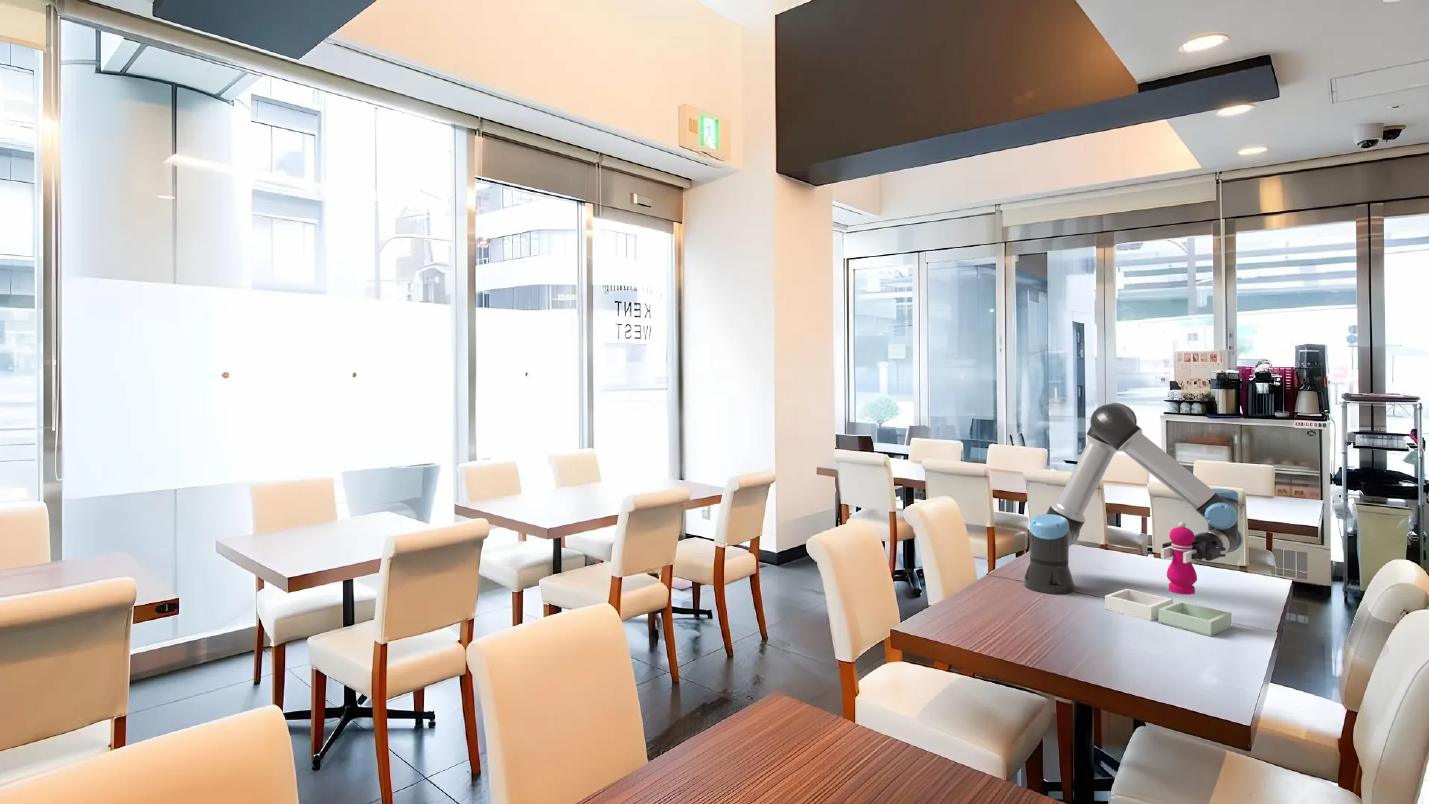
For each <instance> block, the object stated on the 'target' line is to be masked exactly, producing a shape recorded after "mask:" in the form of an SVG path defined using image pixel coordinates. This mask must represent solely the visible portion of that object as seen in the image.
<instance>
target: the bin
mask: <svg viewBox="0 0 1429 804" xmlns="http://www.w3.org/2000/svg"><path fill="white" fill-rule="evenodd" d="M1171 604H1173V599H1172V598H1168V597H1165V596H1160V595H1156V594H1151V593H1148V592H1142V591H1139V590H1135V589H1132V588H1124V589H1122V590H1118V591H1115V592H1113V593H1109V594H1106V595H1104V609H1105V610H1107V609H1108V610H1107V611H1111V610H1112V612H1116V613H1118V612H1119V614H1122V613H1123V615H1127V616H1130V615H1131V616H1130V617H1134V618H1139V619H1141V618H1142V620H1146V621H1149V620H1150V621H1149V622H1152V621H1154V620H1157V619H1158V616H1159V609H1160V608H1163V607H1165V606H1168V605H1171ZM1151 620H1152V621H1151Z"/></svg>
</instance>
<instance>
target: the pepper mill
mask: <svg viewBox="0 0 1429 804" xmlns="http://www.w3.org/2000/svg"><path fill="white" fill-rule="evenodd" d="M1169 540H1171V541H1172V542H1173V543H1172V544H1171V545H1172V547H1171V548H1172V549H1173V556H1172V560H1171V561H1170V564H1169V566H1168V568H1167V571H1166V578H1167V579H1168V581H1169V582H1170V583H1168V590H1169V592H1172V593H1174V594H1179V595H1186V596H1187V595H1188V596H1189V595H1194V594H1195V593H1196V587H1195V586H1194V584H1195V583H1196V582H1197V581H1198V575H1197V571H1196V569H1195V567H1194V566H1193V563H1192V561H1191V562H1188V563H1183V553H1185V552H1188V551H1191V550H1193V549H1192V547H1193V546H1192V545H1191V544H1192V543H1193V542H1194V540H1195V534H1194V532H1193V530H1191V529H1190V528H1188V527H1187V525H1186V523H1185V521H1180V522H1178V526H1177V527H1174V528H1172V529H1171V530H1170V532H1169ZM1171 541H1170V542H1171Z"/></svg>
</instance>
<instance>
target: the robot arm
mask: <svg viewBox="0 0 1429 804" xmlns="http://www.w3.org/2000/svg"><path fill="white" fill-rule="evenodd" d="M1137 420H1138V418H1137V416H1136V414H1135V412H1134V410H1133V409H1131V407H1129V406H1128V405H1125V404H1123V403H1120V402H1119V403H1118V402H1111V403H1107V404H1103V405H1101V406H1099V407H1098V408H1096V409H1095V410H1094V411H1093V412H1092V414H1091V416H1090V421H1089V422H1090V423H1089V424H1090V426H1089V428H1088V430H1087V433H1086V437H1087V440H1088V442H1087V444H1086V445H1085V447H1084V449H1083V451H1082V453H1081V455H1080V457H1079V459H1078V462H1077V463H1076V466H1075V467H1074V469H1073V471H1072V473H1071V475H1070V476H1069V478H1068V481H1067V483H1066V485H1065V487H1064V489H1063V491H1062V492H1061V494H1060V497H1059V499H1058V500H1057V502H1053V503H1051V504H1050V506H1049V508H1048V510H1047V511H1046V513H1045V514H1037V515H1035V516H1033V517H1032V518H1031V519H1030V524H1029V564H1028V566H1027V570H1026V572H1025V575H1024V577H1023V584H1024V585H1023V586H1024V587H1025V588H1027V589H1029V590H1031V591H1032V590H1033V591H1035V592H1036V591H1037V592H1040V593H1044V594H1045V593H1047V594H1055V595H1056V594H1059V595H1060V594H1061V595H1064V594H1071V593H1072V592H1074V591H1075V582H1074V580H1073V575H1072V572H1071V570H1070V567H1069V557H1070V556H1069V554H1070V553H1069V551H1070V549H1069V548H1070V546H1071V545H1073V544H1075V543H1076V542H1077V540H1078V539H1079V537H1080V533H1081V529H1082V527H1083V526H1084V524H1085V522H1086V518H1085V516H1084V513H1085V511H1086V509H1087V507H1088V505H1089V503H1090V501H1091V500H1092V498H1093V496H1094V493H1095V492H1096V490H1097V487H1098V486H1099V484H1100V481H1101V480H1102V478H1103V477H1104V474H1105V472H1106V470H1107V469H1108V467H1109V464H1110V463H1111V461H1112V459H1113V458H1114V455H1115V453H1117V452H1122V453H1125V454H1126V455H1127V456H1129V458H1131V459H1132V460H1133V461H1134V462H1136V463H1137V464H1138V465H1140V466H1141V468H1143V469H1145V470H1146V471H1147V472H1148V473H1149V474H1151V475H1152V476H1153V477H1154V478H1156V479H1157V480H1158V481H1159V482H1160V483H1161V484H1163V485H1164V486H1165V487H1167V488H1168V489H1169V490H1170V491H1172V492H1173V493H1174V494H1175V495H1177V497H1179V498H1180V499H1181V500H1183V501H1184V502H1185V503H1186V504H1188V505H1189V506H1190V507H1191V508H1192V509H1194V511H1196V512H1197V513H1198V514H1200V516H1202V517H1203V518H1204V520H1205V521H1206V523H1207V531H1204V532H1201V533H1200V532H1199V533H1197V534H1194V536H1195V540H1194V542H1193V543H1192V544H1191V545H1192V546H1193V547H1192V549H1193V550H1191V551H1188V552H1185V553H1183V563H1188V562H1191V563H1192V562H1194V561H1197V560H1199V561H1202V560H1204V559H1205V561H1207V562H1208V561H1209V562H1210V561H1213V560H1216V559H1219V558H1224V557H1225V558H1226V556H1227V553H1233V552H1234V551H1237V550H1238V549H1239V548H1241V546H1242V545H1243V542H1244V536H1243V534H1242V533H1241V531H1240V530H1239V504H1240V503H1239V502H1240V499H1239V493H1238V491H1236V490H1234V489H1230V488H1229V489H1228V488H1211V487H1209V486H1208V485H1207V484H1205V482H1203V481H1202V480H1201V479H1200V478H1198V477H1197V476H1196V475H1195V474H1193V473H1192V472H1191V471H1189V469H1187V468H1186V467H1185V466H1183V465H1182V463H1181V464H1180V462H1178V461H1177V460H1176V459H1174V458H1173V457H1172V456H1171V455H1169V454H1168V453H1167V452H1166V451H1164V450H1163V449H1162V448H1161V447H1159V446H1158V445H1157V444H1155V443H1154V441H1152V440H1151V439H1149V438H1148V437H1147V436H1146V435H1145V434H1143V429H1142V428H1141V427H1140V426H1139V425H1138V421H1137ZM1172 543H1173V542H1172V541H1168V542H1165V543H1162V548H1161V549H1160V559H1161V560H1162V559H1163V560H1164V559H1165V560H1166V559H1169V558H1173V549H1172V548H1171V547H1172V545H1171V544H1172Z"/></svg>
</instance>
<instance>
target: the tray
mask: <svg viewBox="0 0 1429 804" xmlns="http://www.w3.org/2000/svg"><path fill="white" fill-rule="evenodd" d="M1157 619H1158V624H1160V623H1161V625H1164V626H1168V627H1172V628H1176V629H1178V630H1180V629H1181V630H1182V631H1186V632H1191V633H1194V634H1197V635H1202V636H1207V637H1213V635H1214V636H1216V635H1217V634H1219V632H1220V633H1222V632H1224V631H1226V630H1229V629H1230V627H1231V628H1232V612H1228V611H1224V610H1220V609H1217V608H1212V607H1211V608H1210V607H1208V606H1203V605H1198V604H1194V603H1190V602H1186V601H1181V600H1179V601H1176V602H1174V603H1173V602H1172V604H1171V605H1168V606H1165V607H1163V608H1160V609H1159V616H1158V618H1157Z"/></svg>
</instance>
